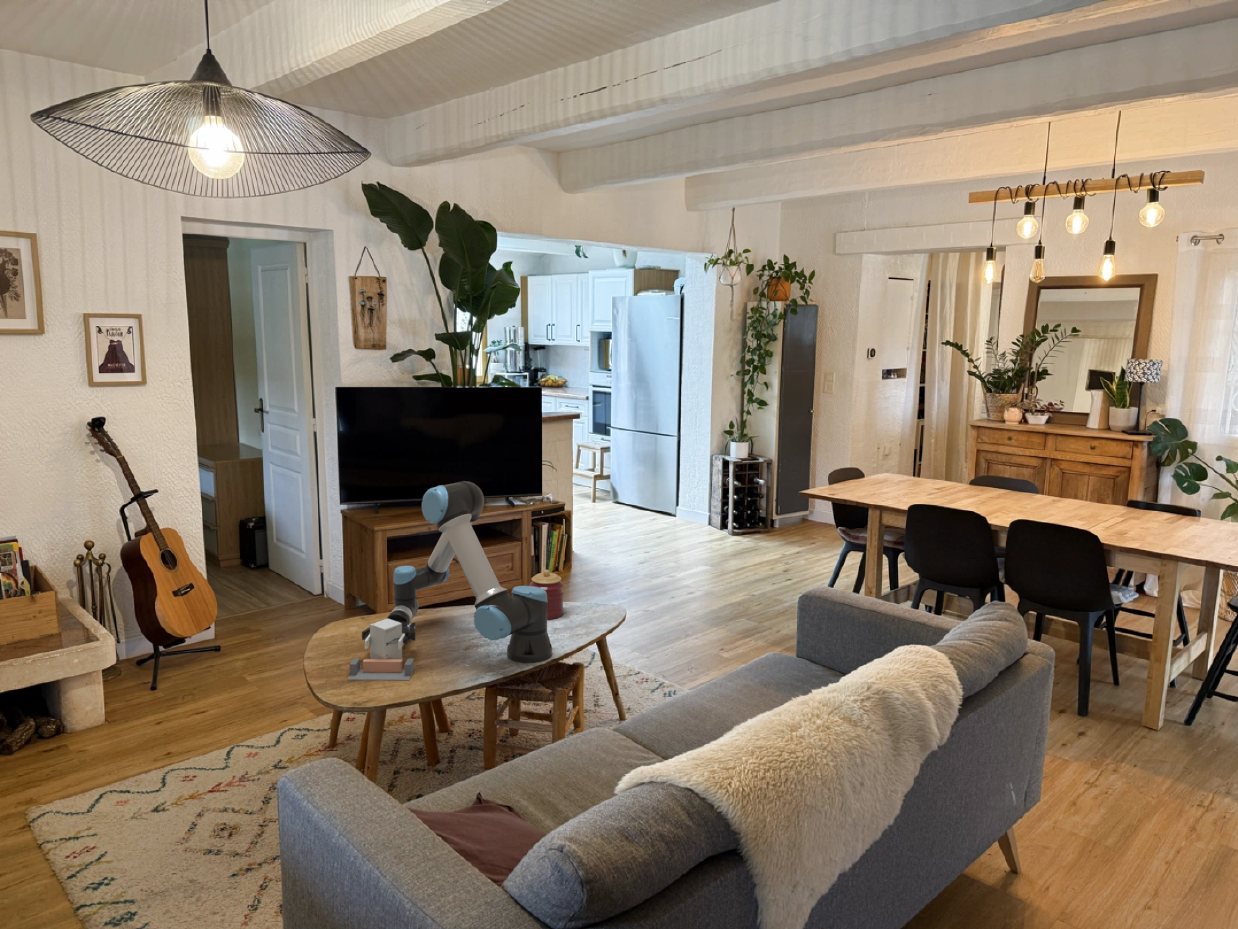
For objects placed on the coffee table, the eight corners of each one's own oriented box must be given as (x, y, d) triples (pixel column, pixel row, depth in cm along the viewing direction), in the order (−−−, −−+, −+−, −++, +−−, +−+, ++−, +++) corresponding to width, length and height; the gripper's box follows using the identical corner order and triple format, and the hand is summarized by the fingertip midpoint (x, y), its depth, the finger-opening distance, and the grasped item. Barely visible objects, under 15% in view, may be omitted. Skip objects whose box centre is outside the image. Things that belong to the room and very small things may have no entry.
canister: (567, 610, 326) (567, 566, 323) (557, 621, 314) (557, 576, 311) (535, 607, 329) (535, 563, 326) (524, 618, 317) (524, 573, 314)
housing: (354, 669, 268) (353, 658, 267) (414, 670, 268) (414, 658, 268) (347, 680, 260) (346, 668, 259) (409, 680, 261) (408, 668, 260)
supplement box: (384, 667, 267) (383, 629, 265) (369, 661, 271) (368, 624, 269) (403, 659, 273) (402, 623, 271) (388, 653, 277) (387, 617, 275)
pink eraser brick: (364, 669, 267) (364, 659, 267) (402, 669, 268) (402, 659, 267) (363, 672, 265) (362, 661, 265) (401, 672, 266) (401, 661, 265)
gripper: (432, 631, 289) (418, 656, 267) (366, 630, 289) (347, 656, 267) (431, 610, 288) (418, 634, 266) (365, 609, 287) (346, 633, 265)
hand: (382, 645), depth 266 cm, fingers closed on supplement box, 10 cm apart
